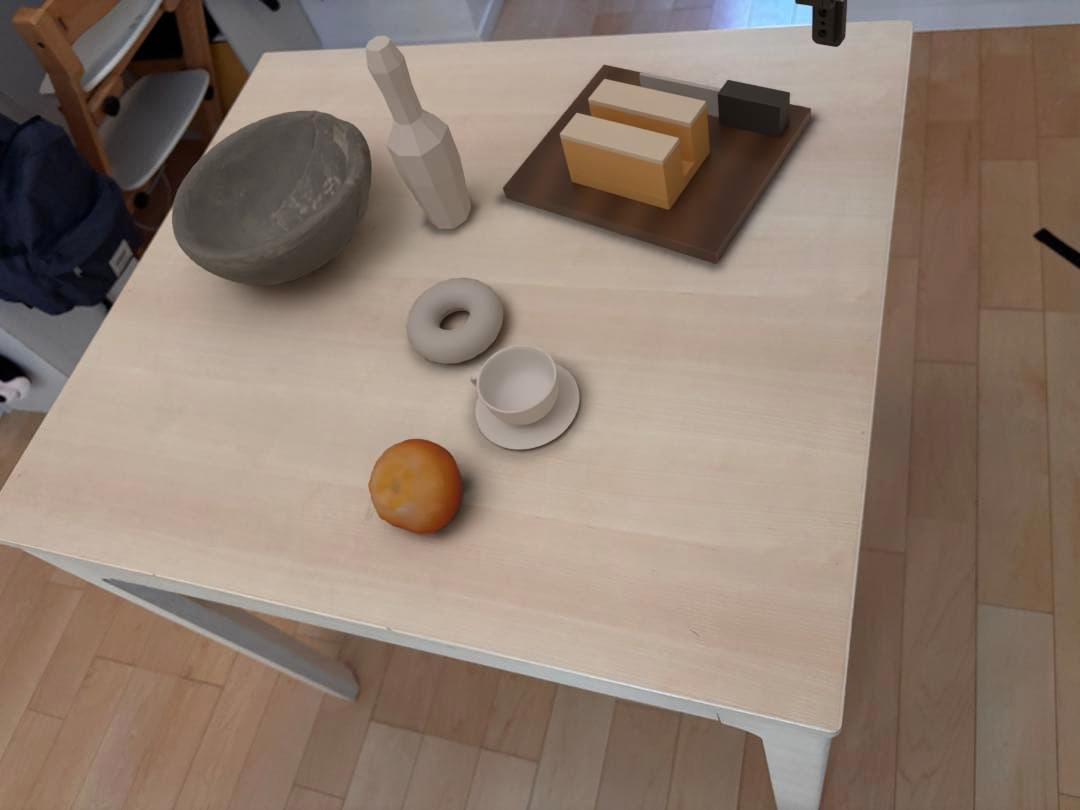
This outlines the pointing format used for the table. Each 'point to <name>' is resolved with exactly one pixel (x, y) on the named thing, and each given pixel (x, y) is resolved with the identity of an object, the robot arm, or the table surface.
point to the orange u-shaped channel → (637, 142)
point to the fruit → (416, 486)
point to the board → (701, 208)
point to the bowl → (274, 198)
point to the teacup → (524, 397)
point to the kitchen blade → (733, 102)
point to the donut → (464, 338)
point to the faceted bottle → (419, 141)
